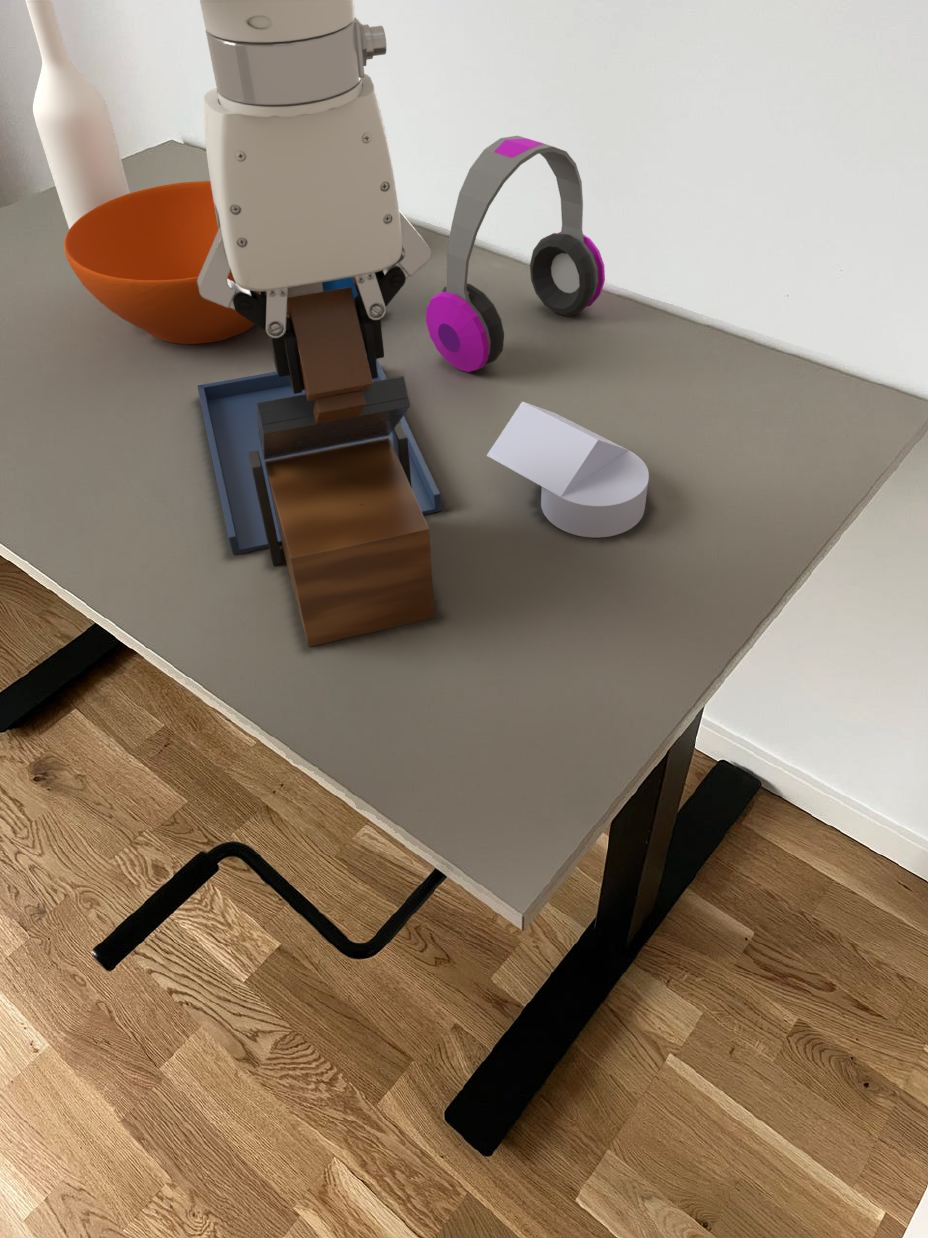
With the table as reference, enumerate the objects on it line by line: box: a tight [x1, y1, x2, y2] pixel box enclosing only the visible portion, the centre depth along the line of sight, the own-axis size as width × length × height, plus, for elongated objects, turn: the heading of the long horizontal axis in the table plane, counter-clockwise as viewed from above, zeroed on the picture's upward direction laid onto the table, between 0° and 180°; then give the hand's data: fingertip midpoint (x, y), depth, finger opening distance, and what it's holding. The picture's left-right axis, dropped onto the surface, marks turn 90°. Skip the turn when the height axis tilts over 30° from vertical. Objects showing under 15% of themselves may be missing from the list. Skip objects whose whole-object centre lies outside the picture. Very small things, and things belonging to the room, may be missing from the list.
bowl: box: [63, 180, 259, 345], centre depth 109 cm, size 25×25×10 cm
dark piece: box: [257, 287, 411, 460], centre depth 69 cm, size 18×10×7 cm
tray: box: [196, 359, 442, 555], centre depth 92 cm, size 25×18×2 cm
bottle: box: [24, 0, 131, 230], centre depth 112 cm, size 8×8×30 cm
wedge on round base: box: [486, 401, 650, 539], centre depth 85 cm, size 9×7×13 cm
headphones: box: [425, 135, 606, 373], centre depth 100 cm, size 21×9×20 cm, turn 136°
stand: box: [248, 423, 436, 648], centre depth 76 cm, size 12×12×10 cm
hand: (331, 372), depth 63 cm, fingers closed on dark piece, 4 cm apart
